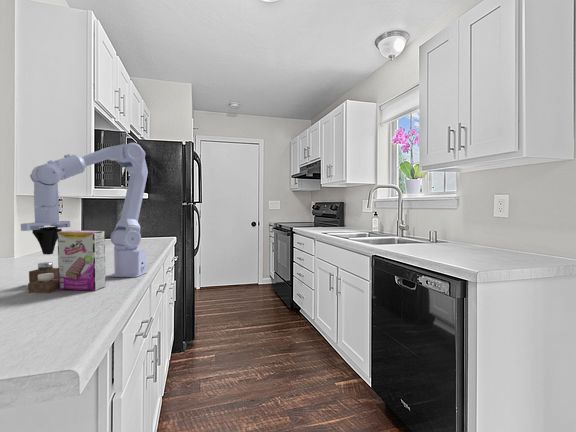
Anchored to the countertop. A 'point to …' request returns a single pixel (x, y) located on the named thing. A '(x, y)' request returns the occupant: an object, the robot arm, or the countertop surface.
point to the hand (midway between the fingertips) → (48, 254)
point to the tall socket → (34, 274)
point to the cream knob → (45, 277)
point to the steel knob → (45, 265)
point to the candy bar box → (81, 260)
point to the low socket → (43, 286)
